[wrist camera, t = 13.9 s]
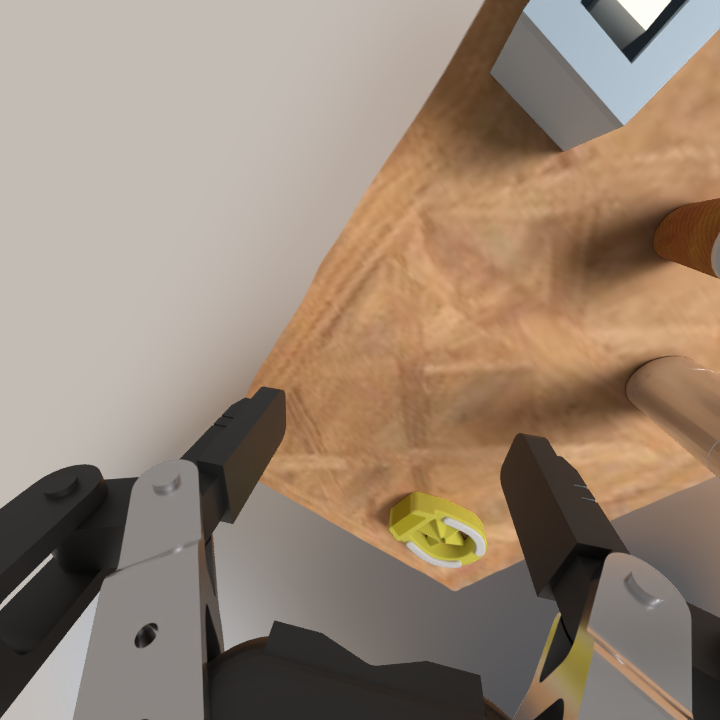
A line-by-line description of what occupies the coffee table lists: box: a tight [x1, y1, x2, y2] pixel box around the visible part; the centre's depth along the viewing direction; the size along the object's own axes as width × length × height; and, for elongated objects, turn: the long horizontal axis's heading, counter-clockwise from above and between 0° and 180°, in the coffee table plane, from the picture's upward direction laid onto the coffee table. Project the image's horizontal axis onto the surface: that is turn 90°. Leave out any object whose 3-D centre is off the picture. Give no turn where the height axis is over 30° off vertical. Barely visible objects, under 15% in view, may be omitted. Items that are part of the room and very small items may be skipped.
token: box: [586, 0, 671, 51], centre depth 24 cm, size 6×4×10 cm, turn 146°
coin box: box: [490, 0, 720, 152], centre depth 25 cm, size 14×12×11 cm
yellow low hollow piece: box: [389, 492, 487, 568], centre depth 63 cm, size 16×21×5 cm
